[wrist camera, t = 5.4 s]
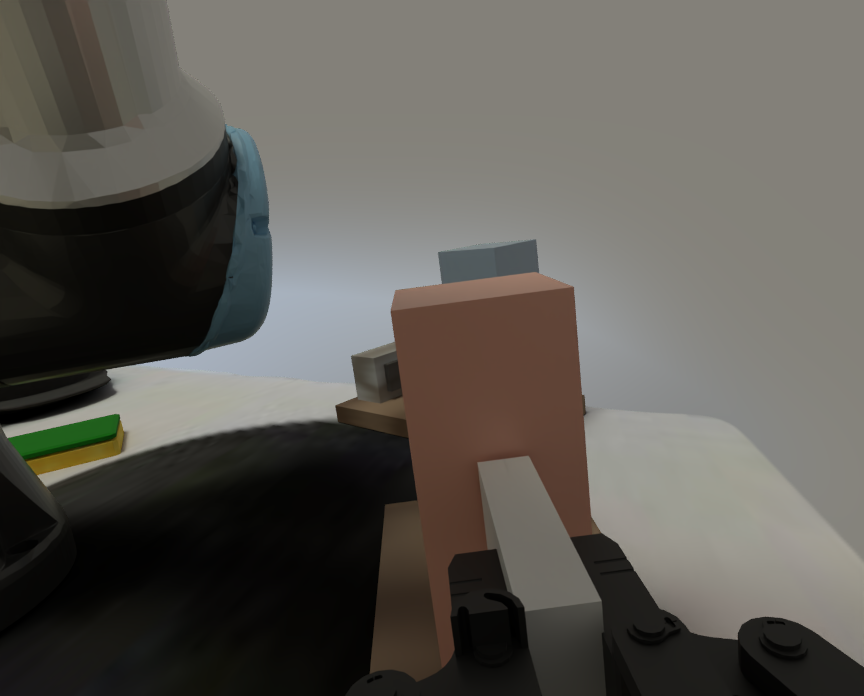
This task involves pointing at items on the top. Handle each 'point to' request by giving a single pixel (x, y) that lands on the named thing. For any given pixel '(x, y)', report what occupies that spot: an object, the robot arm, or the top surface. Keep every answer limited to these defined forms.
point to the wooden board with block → (380, 415)
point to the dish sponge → (71, 444)
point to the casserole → (48, 391)
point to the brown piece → (406, 598)
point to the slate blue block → (488, 261)
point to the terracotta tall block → (488, 407)
